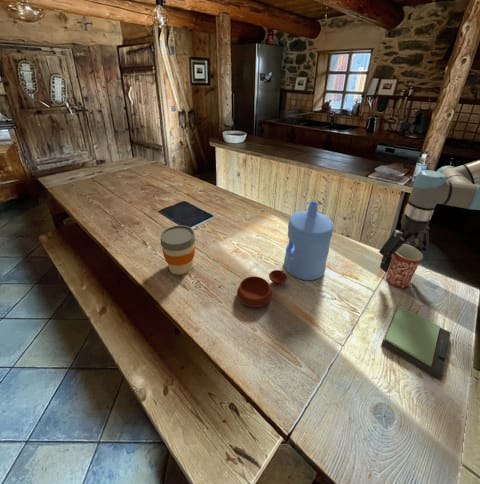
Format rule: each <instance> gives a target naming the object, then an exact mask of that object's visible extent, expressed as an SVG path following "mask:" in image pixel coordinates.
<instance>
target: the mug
mask: <svg viewBox="0 0 480 484" xmlns="http://www.w3.org/2000/svg"><path fill="white" fill-rule="evenodd" d="M391 257H392V260H391V263H390V265H389V268H388V271H387V272H386V277H385V278H386V280H387V282H388V283H390V284H391V285H392V286H394V287H397V288H401V289H404V288H407V287H408V286H409V285H410V283H411V281H412V279H413V276H414V275H415V273H416V271H417V269H418V267H419V265H420V263H421V261H422V260H423V259H424V254H423V253H422V252H420V251H419V250H418V249H416V248H415V247H414V246H412V245H410V244H407V243H406V244H403V245H402V246H401V247H400V248H399V249H398V250H397V251H396V252H395V253H394V254H393V255H392V256H391Z"/></svg>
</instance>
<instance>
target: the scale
mask: <svg viewBox="0 0 480 484" xmlns="http://www.w3.org/2000/svg"><path fill="white" fill-rule="evenodd" d="M450 339H451V332H450V331H448V330H447V329H445V328H442V327H441V326H440V325H438V324H436V323H434V322H433V321H430V320H428V319H426V318H424V317H422V316H420V315H419V314H417V313H415V312H412V311H411V310H409V309H407V308H405V307H402V306H400V305H397V306H396V309H395V310H394V313H393V316H392V317H391V320H390V323H389V325H388V328H387V330H386V332H385V335H384V337H383V339H382V342H381V345H380V346H382V347H383V348H385V349H387V350H389V352H392V353H393V354H395V355H396V356H398V357H400V358H402V359H403V360H405V361H407V362H408V363H410V364H412V365H413V366H415V367H417V368H418V369H420V370H422V371H423V372H425V373H426V374H429V375H430V376H432V377H433V378H435V379H437V380H438V381H441V380H442V378H443V377H444V372H445V366H446V360H447V356H448V355H447V354H448V349H449V344H450Z"/></svg>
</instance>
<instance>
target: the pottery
mask: <svg viewBox="0 0 480 484" xmlns="http://www.w3.org/2000/svg"><path fill="white" fill-rule="evenodd" d="M268 277H269V279H270V281H271V282H272V284H273V285H274V286H277V287H279V286H281V285H282V284H283V283H285V282H286V281H287V280H288V275H287V274H286V273H285V271H283V270H279V269H273V270H272V271H270V272H269V274H268ZM236 295H237V298H238V300H239V301H240V302H241V303H243V305H245V306H247V307H251V308H259V307H263V306H266V305H267V304H268V303H270V301H271V300H272V298H273V297H272V296H273V290H272V288H271V286H270V284H269V283H268V281H267V280H266V279H265V278H263V277H260V276H253V275H252V276H248V277H246V278H244V279H243V280H241V282H240V284H239V286H238V287H237V290H236Z"/></svg>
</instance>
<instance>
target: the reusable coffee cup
mask: <svg viewBox="0 0 480 484" xmlns="http://www.w3.org/2000/svg"><path fill="white" fill-rule="evenodd" d="M195 242H196V234H195V231H194V229H193V228H192V227H190V226H188V225H181V224H180V225H173V226H169V227H168V228H165V229H164V230H163V231H162V232H161V234H160V246H161V248H162V249H161V250H162V254H163V257H164V260H165V262H166V263H167V267H168V269H169V272H171V274H173V275H184V274H187V273H189V272H190V271H191V270H192V268H193V264H194V258H195V252H196V243H195Z"/></svg>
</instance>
